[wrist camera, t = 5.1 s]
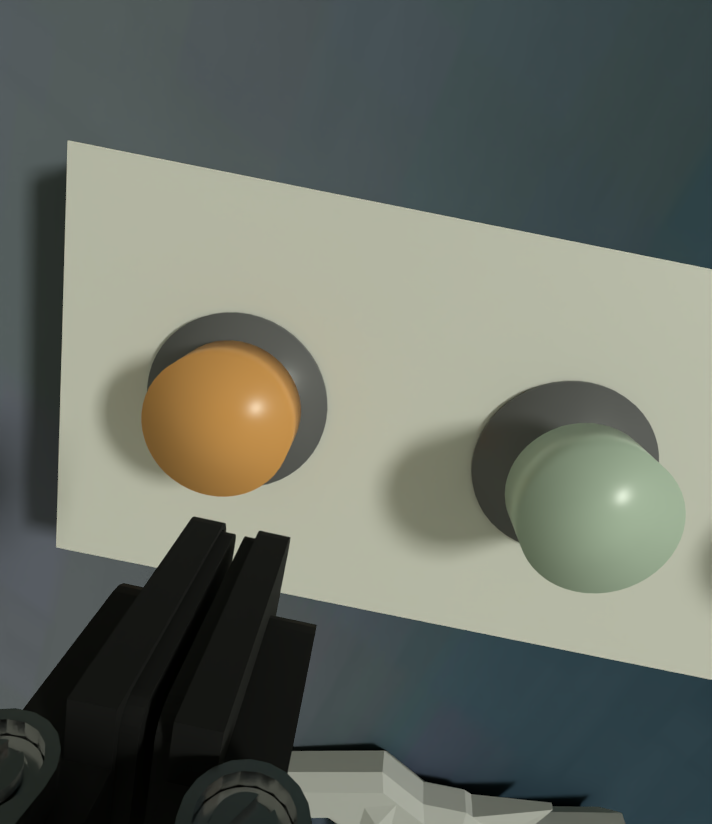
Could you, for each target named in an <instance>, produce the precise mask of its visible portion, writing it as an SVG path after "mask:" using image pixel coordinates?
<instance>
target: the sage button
mask: <svg viewBox="0 0 712 824" xmlns="http://www.w3.org/2000/svg"><path fill="white" fill-rule="evenodd" d="M505 503H506V508H507V512H508V514H509V517H510V520H511V522H512V525H513V527H514V530H515V533H516V535H517V538H518V540H519V543H520V546H521V548H522V551H523V553H524V555H525V557H526V559H527V560H528V562H529V563H530V565H531V566H532V567H533V568H534V569H535V570H536V571H537V572H538V573H539V574H540V575H541V576H542V577H544V578H545V579H546V580H548V581H549V582H551V583H553V584H555V585H557V586H559V587H562V588H564V589H567V590H571V591H575V592H581V593H595V594H597V593H608V592H613V591H618V590H622V589H625V588H628V587H631V586H633V585H635V584H638V583H639V582H641V581H643V580H645V579H647V578H648V577H650V576H651V575H652V574H654V573H655V572H656V571H658V570H659V569H660V568H661V567H662V566H663V565H664V564H665V563H666V562H667V561H668V559H669V558H670V557H671V556H672V554H673V553H674V551H675V550H676V548H677V546H678V544H679V542H680V540H681V537H682V534H683V531H684V526H685V518H686V510H685V502H684V498H683V495H682V492H681V490H680V488H679V486H678V484H677V482H676V481H675V479H674V478H673V476H672V475H671V474H670V473H669V472H668V471H667V470H666V469H665V468H664V467H663V466H662V465H661V464H660V463H659V462H658V461H657V460H655V459H654V458H653V457H652V456H651V455H650V454H649V453H648V452H647V451H646V450H645V449H643V448H642V447H641V446H640V445H639V444H638V443H637V442H636V441H635V440H633V439H632V438H631V437H630V436H628V435H627V434H625V433H623V432H622V431H620V430H617V429H615V428H612V427H609V426H606V425H602V424H595V423H577V424H570V425H565V426H561V427H558V428H556V429H553V430H551V431H549V432H547V433H544V434H543V435H541V436H540V437H538V438H536V439H535V440H534V441H532V442H531V443H530V444H529V445H528V446H527V447H526V448H525V449H524V450H523V451H522V452H521V453H520V454H519V456H518V457H517V458H516V460H515V461H514V463H513V465H512V467H511V469H510V472H509V474H508V477H507V481H506V485H505Z"/></svg>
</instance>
